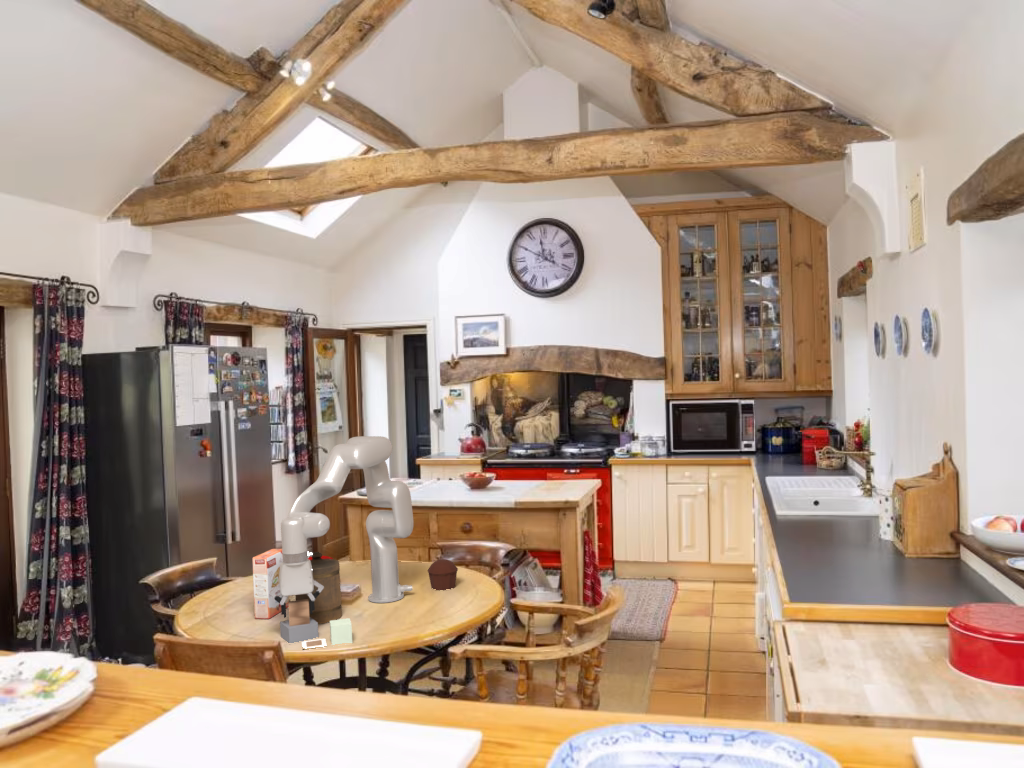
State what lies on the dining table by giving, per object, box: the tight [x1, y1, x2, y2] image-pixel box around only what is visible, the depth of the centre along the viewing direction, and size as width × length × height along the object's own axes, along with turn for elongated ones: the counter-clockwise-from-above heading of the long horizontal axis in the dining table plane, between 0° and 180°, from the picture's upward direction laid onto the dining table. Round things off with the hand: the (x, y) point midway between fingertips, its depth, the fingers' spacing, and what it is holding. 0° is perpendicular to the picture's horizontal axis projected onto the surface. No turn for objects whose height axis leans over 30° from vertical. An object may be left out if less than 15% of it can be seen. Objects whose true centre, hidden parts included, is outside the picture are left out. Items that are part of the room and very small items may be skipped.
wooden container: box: [294, 551, 343, 625], centre depth 263 cm, size 15×15×22 cm
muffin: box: [427, 558, 459, 591], centre depth 294 cm, size 12×11×10 cm
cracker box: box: [251, 548, 289, 620], centre depth 271 cm, size 14×6×21 cm, turn 168°
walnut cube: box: [288, 599, 310, 626], centre depth 244 cm, size 6×6×6 cm
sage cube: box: [329, 617, 353, 646], centre depth 238 cm, size 6×6×6 cm
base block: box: [279, 617, 319, 644], centre depth 244 cm, size 9×9×5 cm
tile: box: [301, 637, 328, 649], centre depth 236 cm, size 7×7×1 cm
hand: (298, 614), depth 244 cm, fingers open, 7 cm apart
